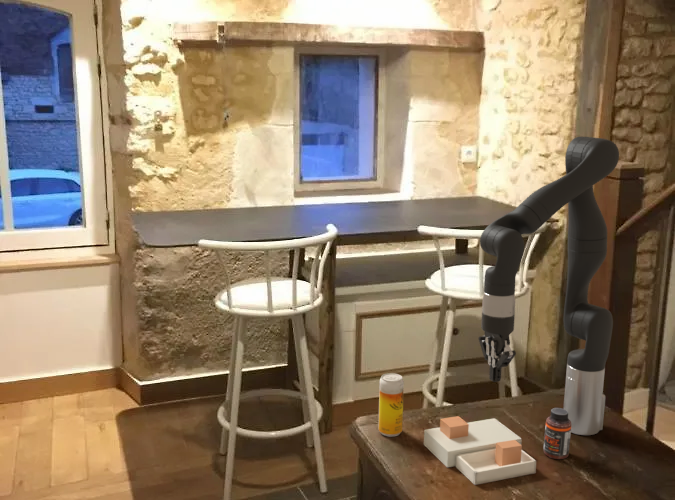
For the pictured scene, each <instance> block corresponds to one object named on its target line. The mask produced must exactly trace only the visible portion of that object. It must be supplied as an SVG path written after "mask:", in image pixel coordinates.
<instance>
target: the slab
mask: <svg viewBox="0 0 675 500" xmlns="http://www.w3.org/2000/svg"><path fill="white" fill-rule="evenodd" d="M467 423H468V424H469V428H468V436H465V437H459V438H453V439H449V438H448V437H447V436H446V435H445V434H444V433H442V432H441V431H440V426H439V427H433V428H428V429H424V431H423V446H424V447H426V448H427V449H428V450H429V451H430V452H431V454H433V455H434V456H435V458H437V459H438V460H439V461H440V462H441V463H442V464H443V465H444V466H445V467H446V468H452V467H456V455H461V454H466V453H472V452H477V451H483V450H489V449H494V448H496V443H498V442H504V441H511V440H516V441H517V442H518V443H519V444H521V445H522V438H521V436H519V435H518V434H516V433H515V432H513V431H512V430H511V429H509V428H508V427H507V426H506V425H504V424H503V423H501V422H500V421H499V419H496V418H494V417H493V418H488V419H481V420H477V421H470V422H467Z"/></svg>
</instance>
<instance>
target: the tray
mask: <svg viewBox="0 0 675 500" xmlns="http://www.w3.org/2000/svg"><path fill="white" fill-rule="evenodd" d="M495 453H496V448H494V449H489V450H483V451H477V452H472V453H466V454H461V455H456V466H455V468H456V469H457V470H458V471H459V472H461V474H462V475H464V477H466V479H468V480H469V481H470V482H471V483H472V484H473V485H474V486H477V485H482V484H487V483H491V482H496V481H501V480H502V481H503V480H506V479H512V478H517V477H522V476H528V475H533V474H536V473H537V470H536V469H537V460H536V459H535V458H533V457H532V456H530V455H529V454H528V452H526V451H524V449H522V450H521V463H516V464H510V465H505V466H500V467H499V466H498V465H497V464H496V463H495Z"/></svg>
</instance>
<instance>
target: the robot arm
mask: <svg viewBox="0 0 675 500" xmlns="http://www.w3.org/2000/svg"><path fill="white" fill-rule="evenodd" d="M564 157H565V160H564V163H565V175H563V176H561V177H560V178H558V179H555V180H554V181H552V182H549V183H548V184H546V185H545V184H544V185H543V186H542V187H540V188H538V189H537V190H535V191H533V192H532V193H531V194H530V195H528V196H527V197H526V198H525V199H524V200H523V201H522V202H521V203H520V204H519V205H518V206H517V207H516V208H515V209H513V210H512V211H510V212H507V213H506V214H504V215H502V216H500V217H499V218H497V219H495V220H494V221H492V222H491V223H490V224H488V225H487V226H486V228H485V229H483V231H482V233H481V236H480V238H479V239H480V240H479V245H480V247H481V249H482V250H483V252H485V253H486V254H488V255H491V256H493V257H496V262H495V265H492V266H489V267H488V268H486V270H485V272H484V280H483V281H484V283H483V285H484V286H483V296H482V300H481V301H482V305H481V325H480V326H481V330H482V331H483V332H484V335H480V336H479V337H478V342H479V344H480V345H479V346H480V349H481V351H482V354H483V358H484V360H485V361H487V363H488V365H489V374H488V375H489V377H488V378H489V380H490V381H492V383H497V382H498V383H499V382H501V379H502V369H503V368H505V367H508V366H509V364H510V363H511V362H512V361H513V359H514V358H515V356H516V354H517V352H516V350H512V349H511V347H510V345H511V339H510V335H511V333H513V332H514V330H515V318H516V317H515V315H516V314H515V313H516V294H515V293H516V276H517V274H518V272H519V269H520V265H521V262H522V259H523V255H524V252H525V241H524V237H523V235H530V234H534V233H536V232H537V231H538V230H539V229H540V228H541V227H542V226H543V225H545V224H546V223H547V221H549V220H550V219H551V218H552V217H553V216H554V215H555V214H556V213H558V212H559V211H560V210H561V209H562V208H563V207H565V206H566V205H567V204H568V206H567V210H568V213H567V214H568V216H567V217H568V224H567V225H568V227H567V228H568V229H567V277H566V278H567V280H566V289H565V299H564V308H563V327H564V330H565V332H566V334H568V335H569V336H572V337H575V338H577V339H579V340H582V341H585V344H584V348H578V349H574V350H571V351H570V352H569V353H568V355H567V359H566V360H567V361H566V374H565V386H564V399H563V409H565V410H567V411H568V419H569V420H570V421H571V433H572V434H575V435H581V436H591V435H592V436H593V435H595V434H598V433H599V432H600V431H603V426H604V415H605V407H606V406H605V405H606V395H605V394H604V392H603V391H604V382H605V381H604V380H605V371H606V362H607V360H608V357H609V354H610V349H611V348H610V346H611V340H612V334H613V327H614V319H613V315H612V312H611V311H610V310H609V309H607V308H606V307H603V306H598V305H595V304H593V303H589V301H588V295H589V293H588V292H589V287H590V283H591V281H592V279H593V278H594V276H595V275H596V273H597V272H598V270H599V269H600V268H601V266H602V265H603V263H604V262H605V260H606V257H607V253H608V226H607V223H606V221H605V218H604V215H603V213H602V212H601V209H600V207H599V205H598V202H597V200H596V197H595V192H594V185H596V184H597V183H598V182H600V181H602V180H603V179H605V178H606V177H608V176H609V175H610V174H611V173H612V172H613V171H614V170H615V169H616V168H617V165H618V163H619V159H620V151H619V148H618V146H617V144H616V143H615V142H614V141H611V140H610V139H606V138H601V137H592V136H591V137H590V136H576V137H575V138H572V140H571V141H570V142H569V143H568V146H567V148H566V151H565V156H564Z"/></svg>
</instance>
